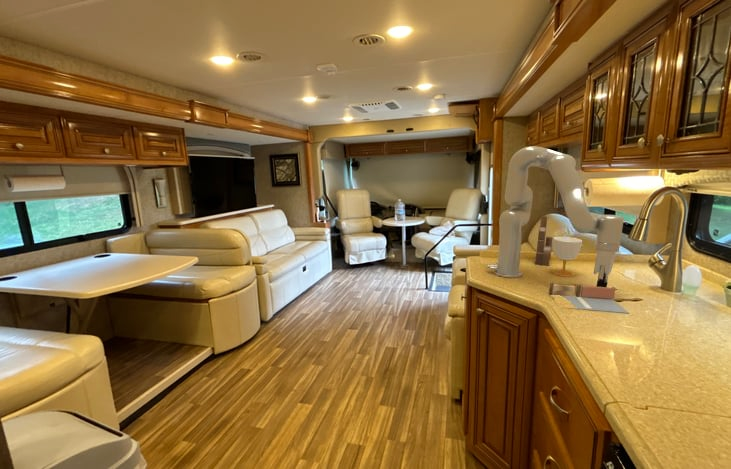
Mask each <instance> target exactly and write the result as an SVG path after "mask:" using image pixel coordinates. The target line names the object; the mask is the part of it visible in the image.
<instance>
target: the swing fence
mask: <svg viewBox="0 0 731 469" xmlns="http://www.w3.org/2000/svg"><path fill="white" fill-rule="evenodd" d="M615 291H616V287H614V286H611V287H609V286H607V287H596V286H593V285H592V286H591V285H581V291H580V295H581V296H584V297H597V298H610V299H613V300H614V299H615V295H616V292H615Z"/></svg>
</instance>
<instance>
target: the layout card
mask: <svg viewBox="0 0 731 469" xmlns="http://www.w3.org/2000/svg"><path fill="white" fill-rule="evenodd" d="M562 297H564V298H566V299H567V300H568V301H571V302H570V303H571V304H572V305H574V307H577V309H576V310H580V309H583V311H592V312H593V311H594V312H606V313H617V314H630V312H629V311H628V310H626V308H625V307H623V306H621V305H620V304H619V303H618V302H617V301H616V300H614V299H610V298H597V297H584V296H581V294H580V297H576V294H574V297H572V296H562Z"/></svg>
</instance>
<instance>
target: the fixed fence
mask: <svg viewBox="0 0 731 469" xmlns="http://www.w3.org/2000/svg"><path fill="white" fill-rule="evenodd" d="M581 288H582V285H581V284H576V286H575V285H566V284H565V285H563V284H555V283H554V282H549V290H548V295H549V294H550V295H560V296H572V297H574V295H576V297H580V295H581ZM550 295H549V296H550Z"/></svg>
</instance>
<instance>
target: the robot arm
mask: <svg viewBox="0 0 731 469" xmlns="http://www.w3.org/2000/svg"><path fill="white" fill-rule="evenodd" d="M576 161H577V160H576V159H575V158H574V156H572V155H570V154H566V153H562V152H559V151H555V150H552V149H549V148H546V147H543V146H536V145H534V146H533V145H531V146H526V147H523V148H521V149H519V150H517V151H516V152H515V153H514V154H513V155H512V157H511V158H510V161H509V163H508V167H507V168H508V170H507V177H506V178H507V179H506V184H505V191H504V201H505V203H506V204H507V205H509V206H510V208H509V209H506V210H504V211H503V212H502V213H501V214H500V217H499V220H498V221H499V222H498V224H499V226H498V227H499V241H498V253H497V254H498V255H497V262H496V263H495V264H494V263H493V264H486V268H487V269H490V270H493V274H494V275H496V276H498V277H503V278H508V279H516V278H517V279H518V278H520V277H522V276H523V272H522V271H521V270H520V263H521V261H520V260H521V251H522V250H521V249H522V238H523V236H522V227H524V226H526V225H527V224H528V222H529V221H530V219H531V218H530V217H531V212H532V206H533V205H532V204H533V199H534V198H533V197H534V194H533V190H532V188H531V187H530V186H528V179H529V168H531V167H538V168H542V169H544V170H547V171H549V172H550V175H551V177H552V180H553V181H554V183H555V185H556V187H557V190H558V192H559V194H560V197H561V202H562V204H563V207H564V210H565V214H566V216H567V218H568V220H569V223H570V224H571V226H572V228H573V229H574V231H576V232H578V233H579V234H589V233H591V232H593V231H597V234H596V235H597V236H596V241H595V250H596V251H597V253H596V257H595V263H594V267H593V268H594V269H593V275H597V274H598V275H597V281H596V286H595V287H608V278H609V276H610V275H611V273H612V271H613V268H614V267H613V266H614V261H615V255H616V254H615V253H619V251H620V246H621V238H622V233H623V227H624V217H622V216H621V215H616V214H602V213H595V212H591V211H590V210H589V208H588V206H587V203H586V201H585V200H586V199H585V186H584V184H583V182H582V180H581V178H580V176H579V173H578V171H577V170H576V169H577V168H576V165H577V162H576Z"/></svg>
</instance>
